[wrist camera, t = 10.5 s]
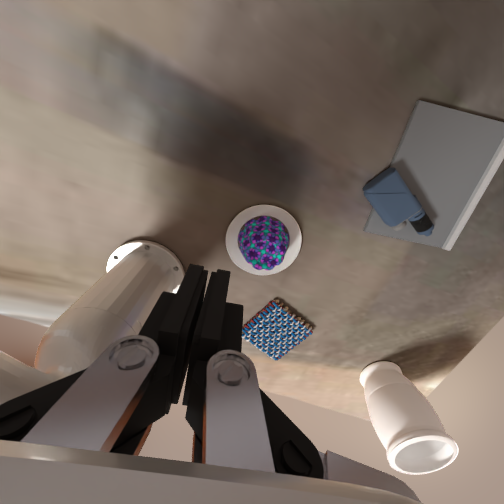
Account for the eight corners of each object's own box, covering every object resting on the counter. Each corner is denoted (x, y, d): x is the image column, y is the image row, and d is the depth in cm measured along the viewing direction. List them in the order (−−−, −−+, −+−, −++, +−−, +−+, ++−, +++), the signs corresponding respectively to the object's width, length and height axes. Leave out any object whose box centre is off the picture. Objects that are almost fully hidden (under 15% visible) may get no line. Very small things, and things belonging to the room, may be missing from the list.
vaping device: (392, 164, 36) (431, 225, 39) (358, 189, 38) (399, 245, 41) (400, 167, 34) (441, 231, 37) (364, 193, 35) (407, 253, 39)
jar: (345, 387, 55) (377, 470, 41) (367, 351, 51) (409, 431, 37) (391, 395, 56) (436, 480, 42) (415, 362, 52) (474, 443, 38)
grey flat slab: (444, 247, 42) (450, 250, 40) (363, 230, 40) (366, 232, 39) (513, 126, 34) (522, 126, 33) (417, 100, 33) (422, 99, 32)
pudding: (215, 257, 43) (210, 273, 38) (243, 190, 38) (242, 198, 33) (280, 282, 45) (284, 300, 40) (314, 221, 40) (323, 233, 35)
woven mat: (275, 356, 52) (276, 365, 50) (236, 328, 49) (235, 336, 47) (314, 326, 49) (317, 333, 47) (274, 294, 46) (275, 301, 44)
